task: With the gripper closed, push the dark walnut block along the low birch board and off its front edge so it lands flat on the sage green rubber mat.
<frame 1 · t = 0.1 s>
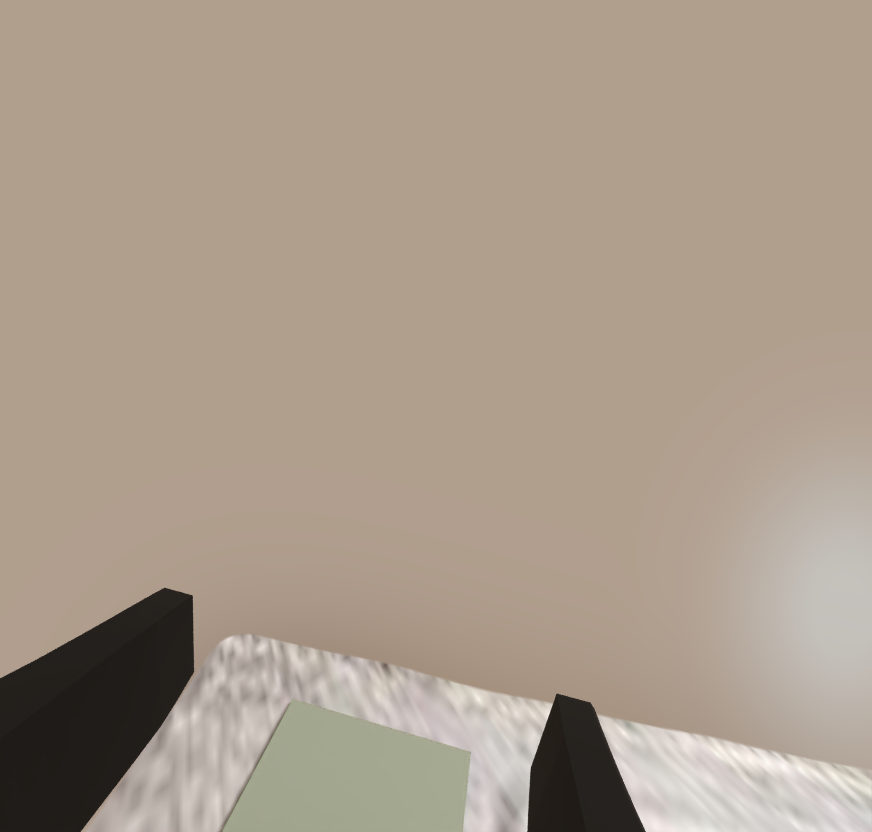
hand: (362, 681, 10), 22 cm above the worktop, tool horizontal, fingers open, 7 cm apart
sage mat: (357, 800, 28), on the worktop
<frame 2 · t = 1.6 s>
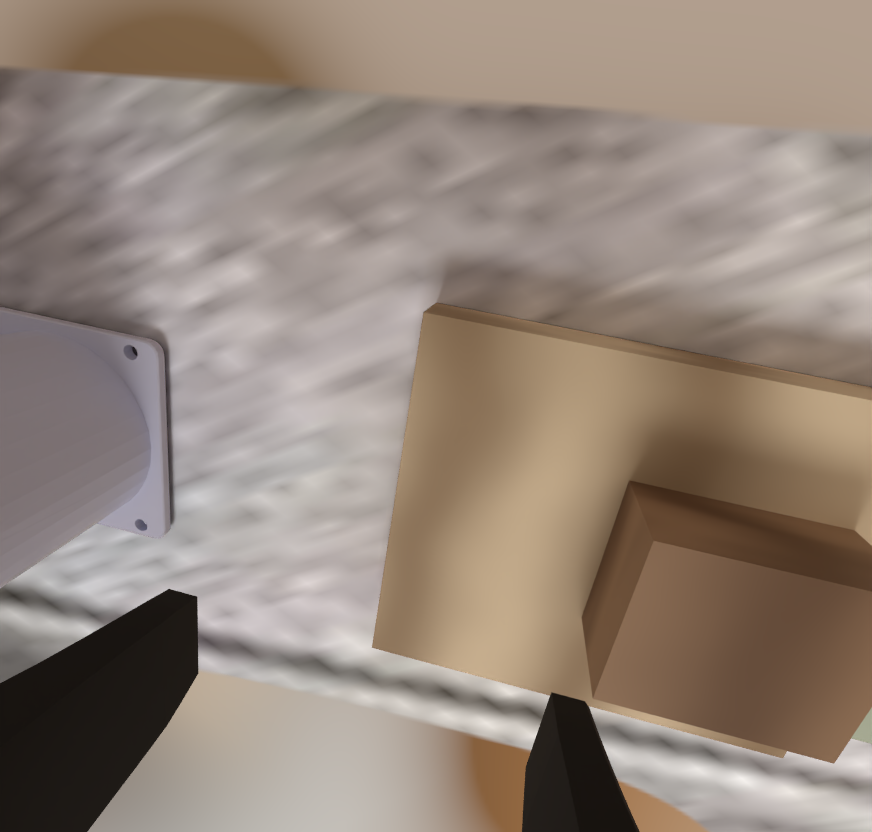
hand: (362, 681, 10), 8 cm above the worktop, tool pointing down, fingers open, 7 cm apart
birch board: (610, 521, 17), on the worktop
walnut block: (706, 577, 15), point 2 cm above the worktop, touching birch board
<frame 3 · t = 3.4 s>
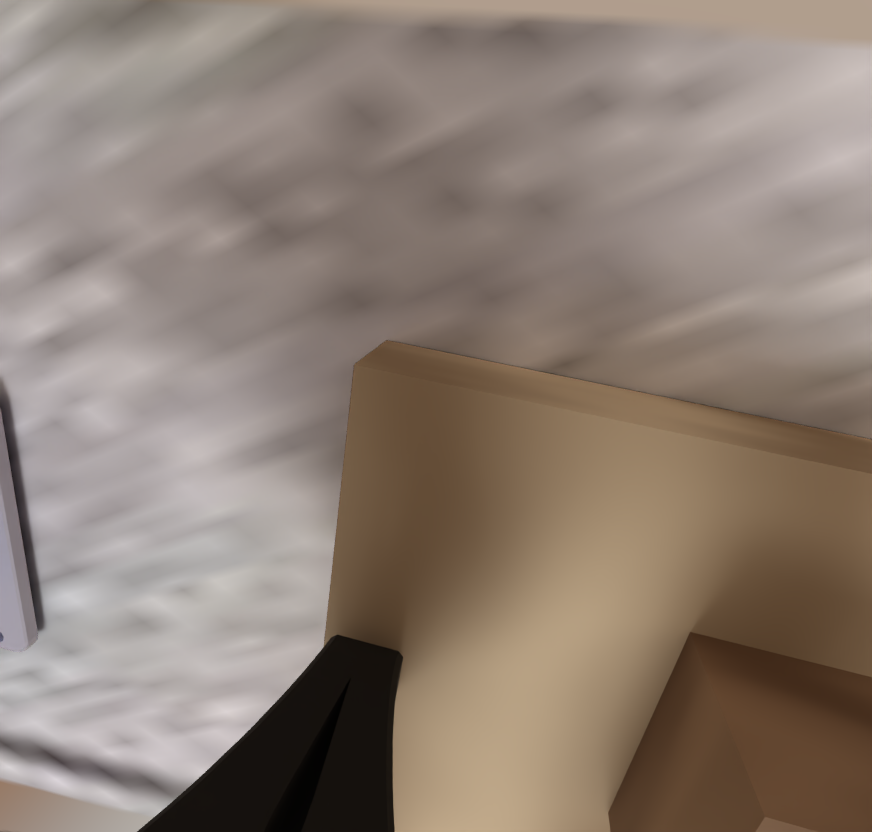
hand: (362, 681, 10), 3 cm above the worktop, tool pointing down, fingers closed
birch board: (648, 656, 11), on the worktop
walnut block: (808, 775, 9), point 2 cm above the worktop, touching birch board
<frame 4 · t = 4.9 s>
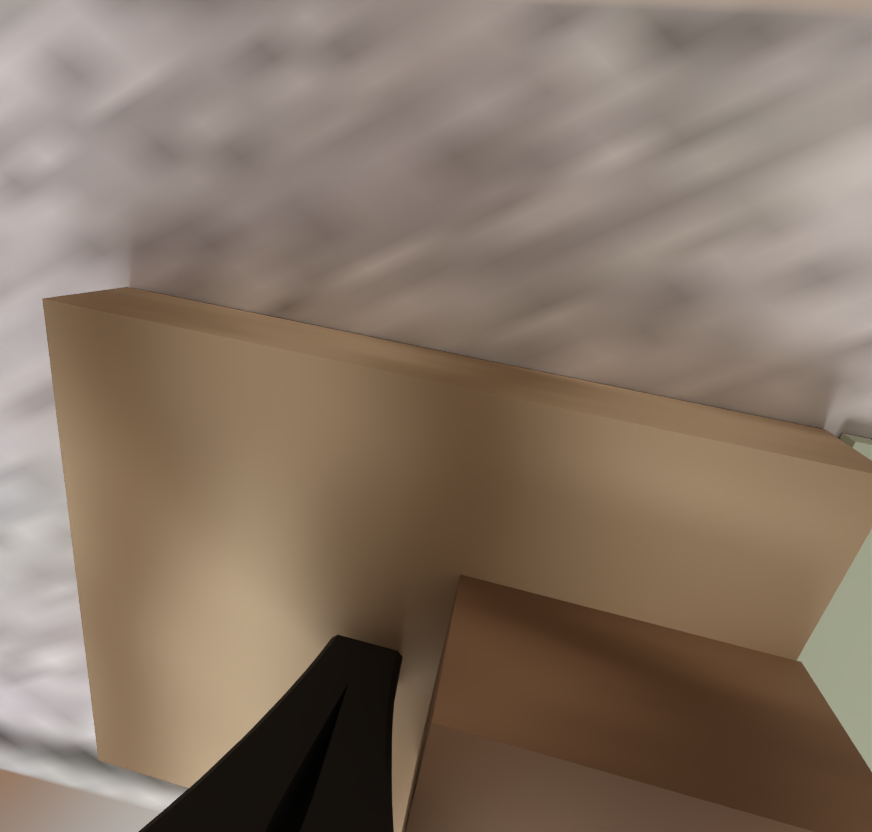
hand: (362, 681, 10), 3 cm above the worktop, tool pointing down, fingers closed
birch board: (408, 593, 12), on the worktop
walnut block: (585, 715, 10), point 2 cm above the worktop, touching birch board
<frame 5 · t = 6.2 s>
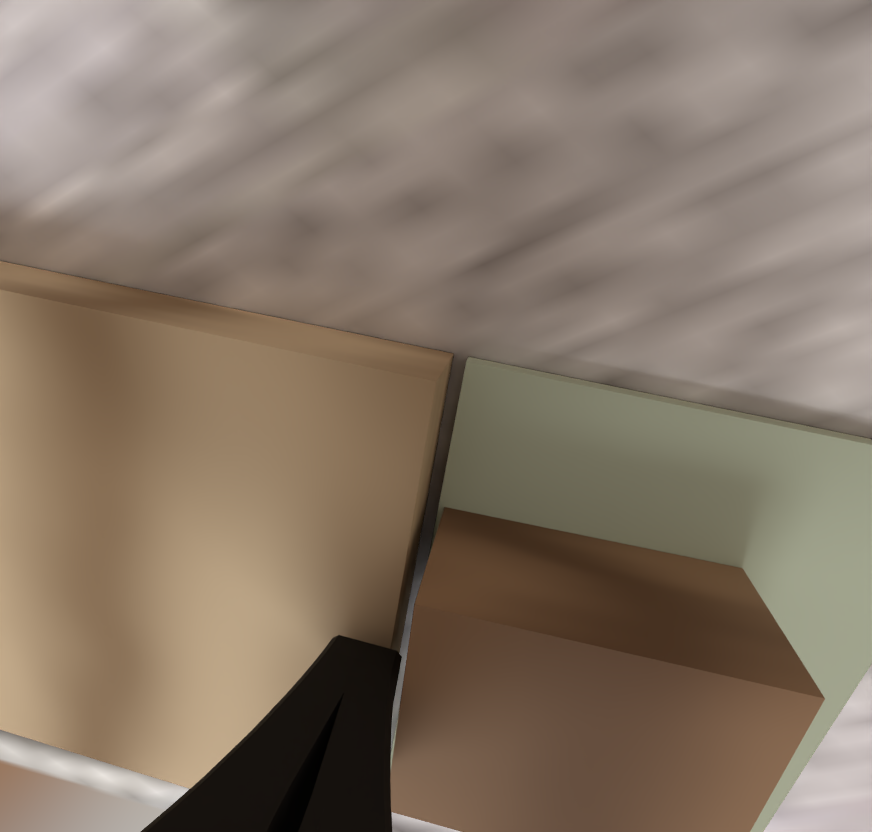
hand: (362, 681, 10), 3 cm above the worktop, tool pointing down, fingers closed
birch board: (143, 526, 13), on the worktop
walnut block: (561, 630, 11), resting on sage mat, touching gripper
sage mat: (616, 647, 12), on the worktop
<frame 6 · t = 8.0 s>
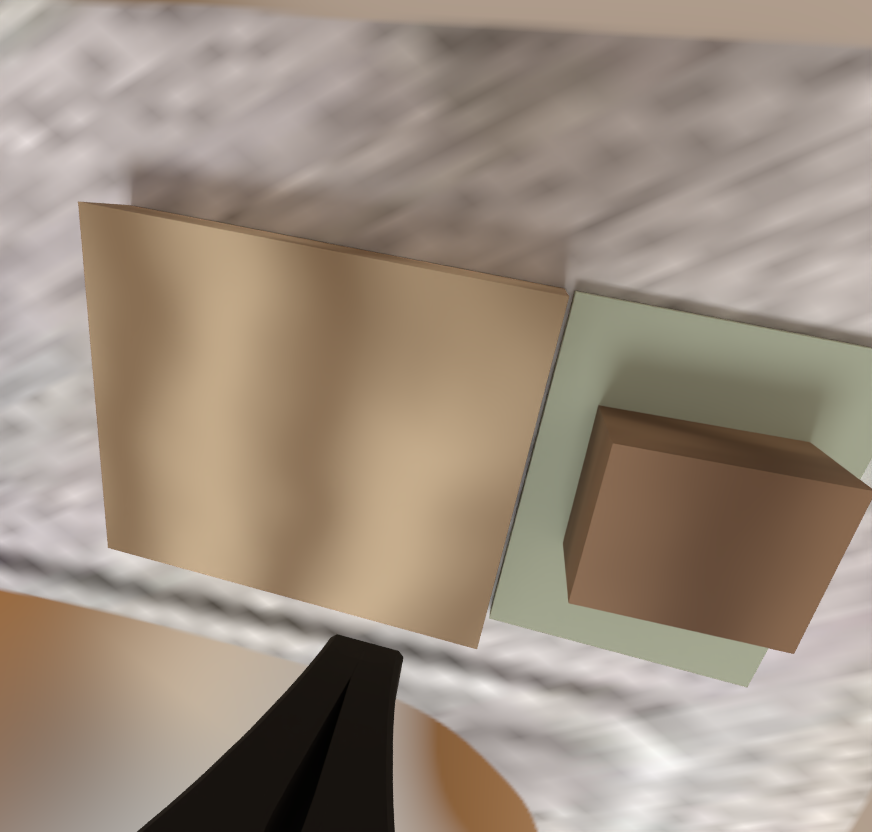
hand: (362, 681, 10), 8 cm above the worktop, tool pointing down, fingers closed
birch board: (320, 423, 18), on the worktop
walnut block: (676, 496, 16), resting on sage mat
sage mat: (667, 504, 16), on the worktop
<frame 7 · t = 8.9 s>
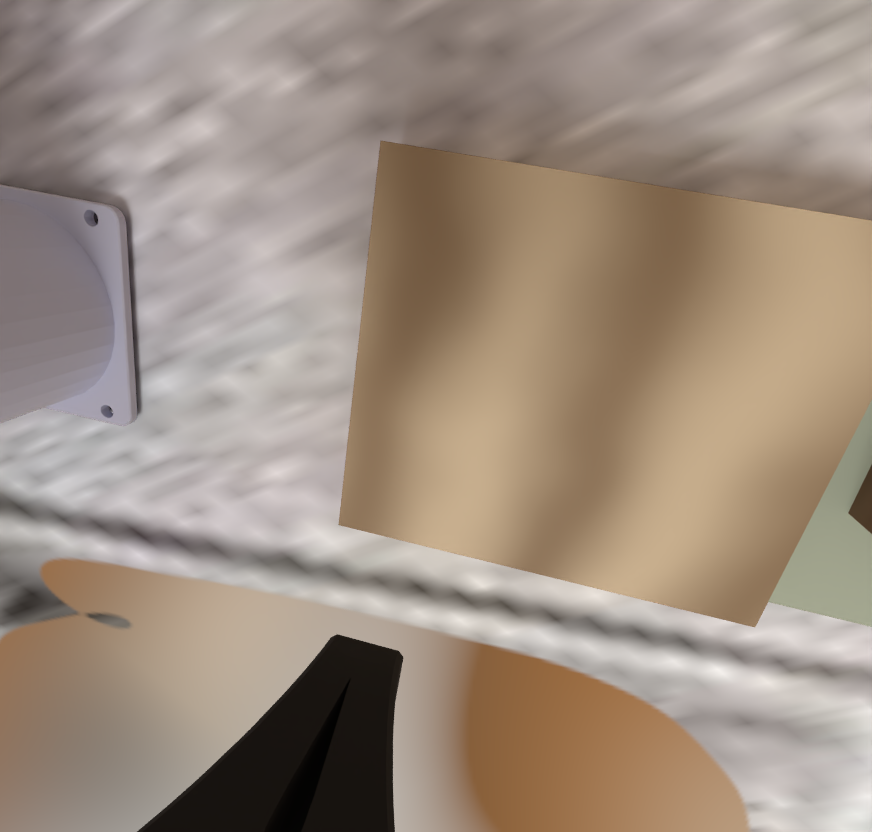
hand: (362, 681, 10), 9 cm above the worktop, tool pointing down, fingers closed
birch board: (580, 388, 17), on the worktop
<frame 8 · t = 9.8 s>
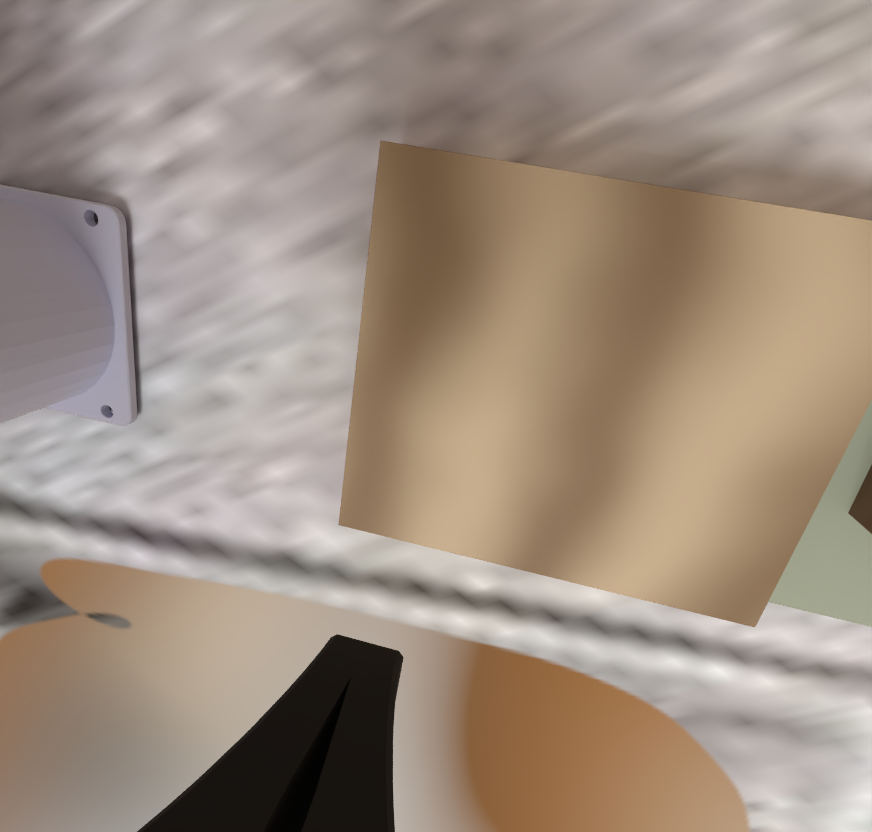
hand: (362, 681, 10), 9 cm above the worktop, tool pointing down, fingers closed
birch board: (580, 388, 17), on the worktop
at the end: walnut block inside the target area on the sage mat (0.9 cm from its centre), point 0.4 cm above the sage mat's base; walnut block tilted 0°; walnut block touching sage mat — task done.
